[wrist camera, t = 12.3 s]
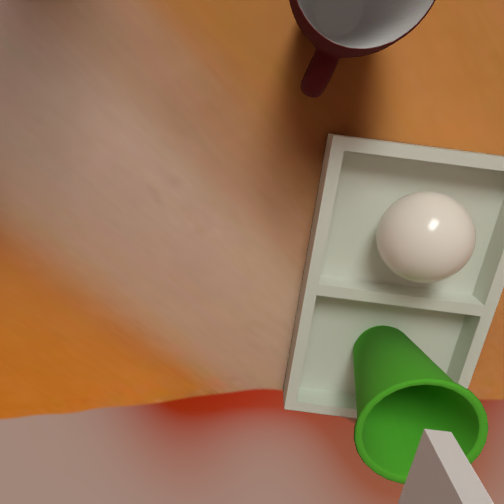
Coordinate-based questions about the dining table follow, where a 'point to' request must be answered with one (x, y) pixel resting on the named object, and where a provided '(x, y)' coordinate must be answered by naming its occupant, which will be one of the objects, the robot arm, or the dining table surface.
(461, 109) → the dining table surface
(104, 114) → the dining table surface
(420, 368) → the cup
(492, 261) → the tray
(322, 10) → the mug
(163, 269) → the dining table surface
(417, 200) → the white ball
